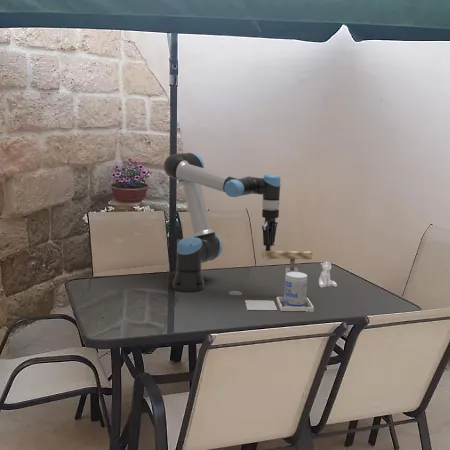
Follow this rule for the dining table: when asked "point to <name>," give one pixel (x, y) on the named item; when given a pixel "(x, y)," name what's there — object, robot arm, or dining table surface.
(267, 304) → the rubber mat
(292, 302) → the supplement tub
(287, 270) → the post
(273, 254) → the T-handle
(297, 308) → the holder tray
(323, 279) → the white creature statuette
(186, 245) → the robot arm
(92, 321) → the dining table surface
